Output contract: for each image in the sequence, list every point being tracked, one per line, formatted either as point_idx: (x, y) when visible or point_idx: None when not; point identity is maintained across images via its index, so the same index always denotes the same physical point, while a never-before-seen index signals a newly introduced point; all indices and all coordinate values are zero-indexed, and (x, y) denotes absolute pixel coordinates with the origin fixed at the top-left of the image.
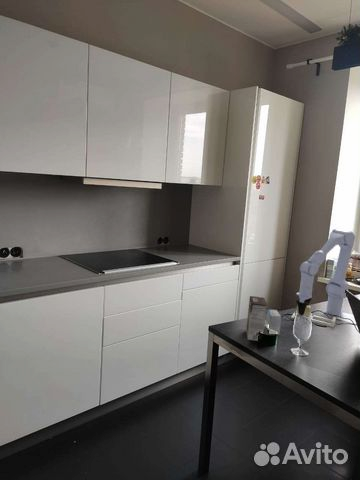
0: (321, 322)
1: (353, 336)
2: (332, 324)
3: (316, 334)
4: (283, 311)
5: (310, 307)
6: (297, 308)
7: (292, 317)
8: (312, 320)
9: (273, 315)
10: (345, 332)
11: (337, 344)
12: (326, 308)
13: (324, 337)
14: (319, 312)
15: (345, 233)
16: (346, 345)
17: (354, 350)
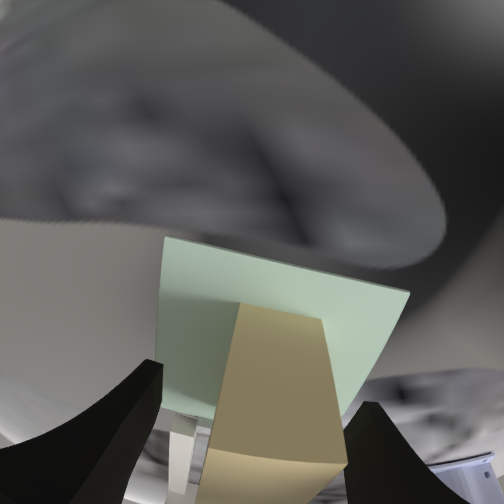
0: (170, 464)
1: (124, 496)
2: (168, 493)
3: (5, 377)
4: (379, 130)
5: None
6: (221, 393)
7: (164, 258)
8: (172, 430)
9: None
10: (144, 494)
11: (3, 418)
12: (477, 461)
13: (10, 400)
14: (431, 448)
15: None
16: (23, 441)
17: (14, 443)
